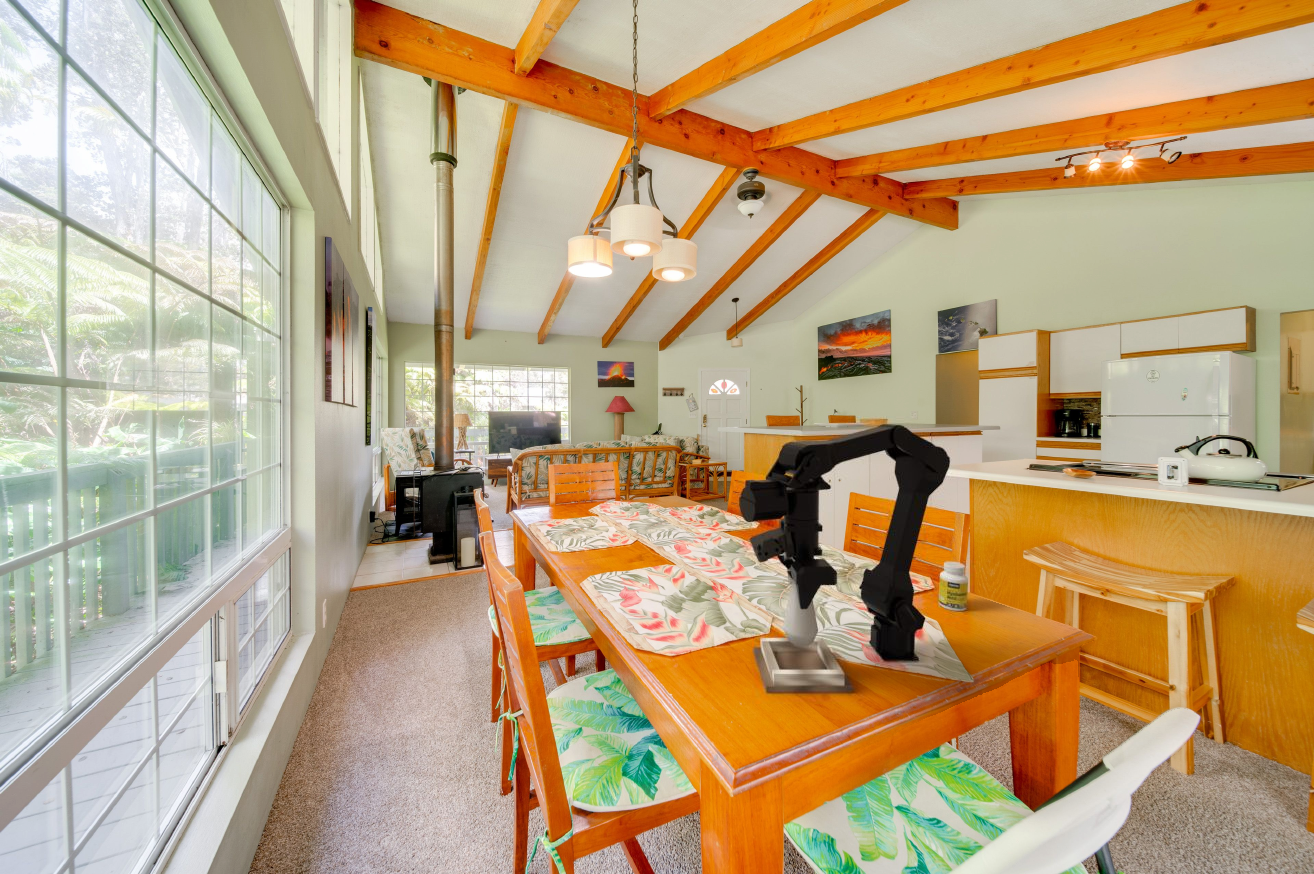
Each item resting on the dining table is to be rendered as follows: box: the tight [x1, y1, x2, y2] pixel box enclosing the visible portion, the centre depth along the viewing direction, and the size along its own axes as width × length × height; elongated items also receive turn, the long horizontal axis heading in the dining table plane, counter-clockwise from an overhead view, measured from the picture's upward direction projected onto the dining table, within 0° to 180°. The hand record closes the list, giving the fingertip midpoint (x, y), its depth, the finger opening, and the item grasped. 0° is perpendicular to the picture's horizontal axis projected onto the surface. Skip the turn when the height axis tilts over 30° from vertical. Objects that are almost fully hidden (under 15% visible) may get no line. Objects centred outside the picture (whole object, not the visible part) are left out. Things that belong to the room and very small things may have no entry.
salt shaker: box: [782, 568, 819, 646], centre depth 82 cm, size 6×6×13 cm
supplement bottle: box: [938, 561, 969, 612], centre depth 106 cm, size 5×5×10 cm
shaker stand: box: [752, 637, 854, 694], centre depth 82 cm, size 14×12×3 cm
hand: (800, 604), depth 82 cm, fingers closed on salt shaker, 3 cm apart
